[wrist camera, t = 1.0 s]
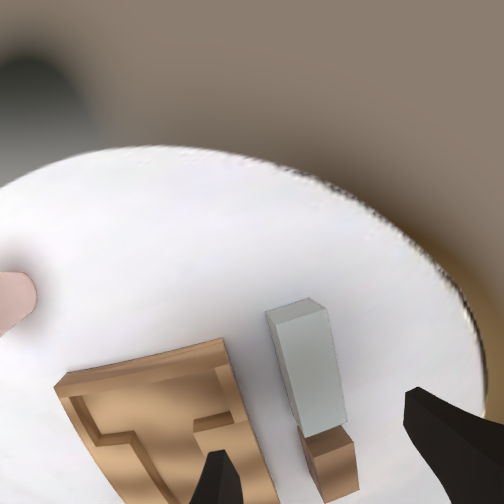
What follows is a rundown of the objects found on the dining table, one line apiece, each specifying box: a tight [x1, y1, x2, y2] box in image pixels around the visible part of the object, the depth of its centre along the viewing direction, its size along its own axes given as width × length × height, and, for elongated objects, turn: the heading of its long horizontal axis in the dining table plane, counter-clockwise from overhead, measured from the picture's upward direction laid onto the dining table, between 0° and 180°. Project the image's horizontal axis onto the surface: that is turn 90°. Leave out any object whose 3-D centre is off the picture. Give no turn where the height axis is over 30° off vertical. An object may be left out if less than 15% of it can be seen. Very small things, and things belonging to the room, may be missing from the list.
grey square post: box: [265, 298, 347, 438], centre depth 23 cm, size 4×10×4 cm, turn 15°
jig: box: [54, 338, 280, 504], centre depth 22 cm, size 18×14×3 cm
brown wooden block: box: [297, 425, 359, 504], centre depth 23 cm, size 7×3×5 cm, turn 15°
